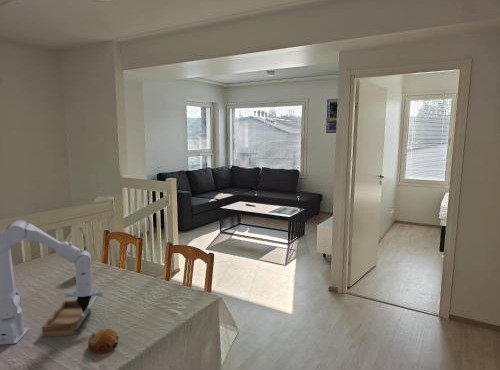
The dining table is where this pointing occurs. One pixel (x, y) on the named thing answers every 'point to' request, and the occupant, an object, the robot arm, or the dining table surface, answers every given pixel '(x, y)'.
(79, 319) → the panel
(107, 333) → the bread roll
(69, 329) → the tray
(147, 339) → the dining table surface
